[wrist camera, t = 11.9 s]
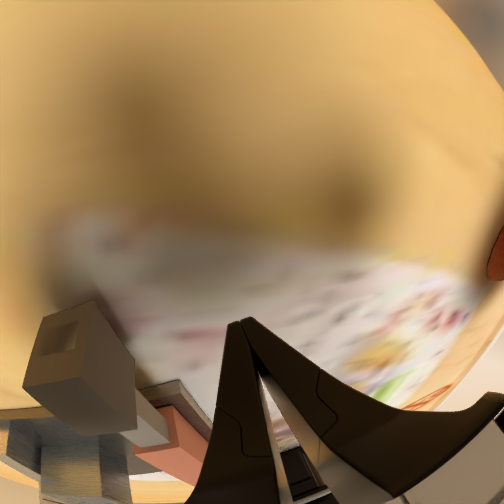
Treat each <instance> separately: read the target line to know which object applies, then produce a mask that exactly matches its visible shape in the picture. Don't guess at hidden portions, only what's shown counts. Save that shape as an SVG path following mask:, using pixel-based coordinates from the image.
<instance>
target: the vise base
mask: <svg viewBox="0 0 504 504" xmlns="http://www.w3.org/2000/svg"><path fill="white" fill-rule="evenodd" d="M138 391H139V392H140V393H141V394H142V395H143V397H144V398H145V399H146V400H147V401H148V402H149V403H150V404H151V405H152V406H153V407H154V408H155V409H159V408H163V407H168V406H172V405H173V407H174V408H175V409H176V410H177V411H178V412H179V413H180V414H181V415H182V416H183V417H184V418H185V420H186V421H187V422H188V423H189V424H190V425H191V426H192V427H193V428H194V429H195V430H196V431H197V432H198V433H199V434H200V435H201V436H202V437H203V438H204V439H205V440H206V441H207V442H208V443H209V440H210V436H211V432H212V426H213V424H212V422H211V421H210V420H209V419H208V418H207V416H206V415H205V414H204V413H203V411H202V410H201V409H200V407H199V406H198V405H197V404H196V402H195V401H194V400H193V398H192V397H191V396H190V394H189V393H188V392H187V390H186V389H185V388H184V386H183V385H182V384H181V382H180V381H179V380H176V381H172V382H169V383H165V384H161V385H157V386H153V387H149V388H145V389H141V390H138ZM93 443H99V444H101V445H102V446H104V447H105V448H107V449H109V450H110V451H112V452H113V453H115V454H117V455H118V456H120V457H122V458H124V459H125V460H127V467H128V475H137V474H146V473H154V472H161V471H162V470H160V469H158V468H157V467H155V466H153V465H151V464H149V463H148V462H146V461H144V460H143V459H141V458H139V457H138V456H136V455H134V446H133V442H131V441H130V440H129V439H127V438H126V437H124V436H123V435H122V434H120V433H119V432H117V433H110V434H103V435H94V436H84V437H82V436H81V435H80V434H78V433H77V432H75V431H74V430H73V429H71V428H70V427H68V426H67V425H66V424H64V423H63V422H62V421H61V420H59V419H58V418H57V417H55V416H54V415H53V414H52V413H50V412H49V411H48V410H47V409H46V408H44V407H37V408H27V409H15V410H0V461H2V462H4V463H5V464H7V465H9V466H10V467H12V468H14V469H15V470H17V471H19V472H21V473H23V474H24V475H26V476H28V477H30V478H32V479H34V480H36V481H38V482H40V483H41V450H42V446H62V445H81V444H93Z"/></svg>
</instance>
